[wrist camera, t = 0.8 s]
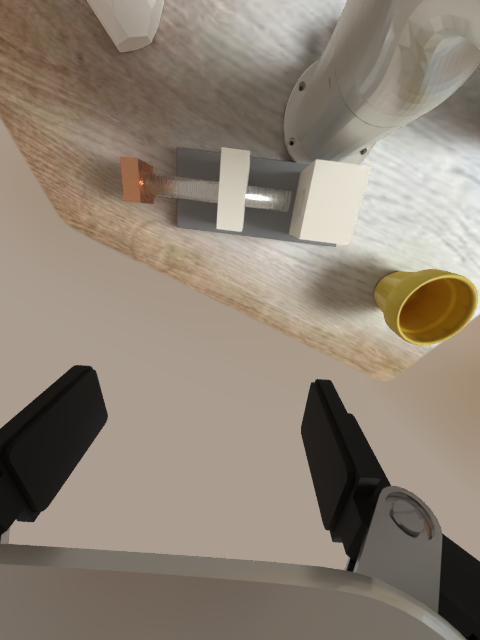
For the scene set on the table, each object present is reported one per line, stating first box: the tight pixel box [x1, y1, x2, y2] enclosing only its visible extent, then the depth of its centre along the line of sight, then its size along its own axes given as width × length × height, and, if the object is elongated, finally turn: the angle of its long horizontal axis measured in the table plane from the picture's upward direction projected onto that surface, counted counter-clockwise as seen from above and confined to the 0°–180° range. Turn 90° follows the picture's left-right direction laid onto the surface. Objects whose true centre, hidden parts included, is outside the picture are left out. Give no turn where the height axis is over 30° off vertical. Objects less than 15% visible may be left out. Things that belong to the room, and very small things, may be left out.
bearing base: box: [177, 147, 372, 247], centre depth 30 cm, size 24×10×10 cm, turn 83°
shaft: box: [120, 157, 292, 212], centre depth 29 cm, size 20×4×4 cm, turn 83°
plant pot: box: [374, 269, 478, 345], centre depth 35 cm, size 10×10×10 cm
